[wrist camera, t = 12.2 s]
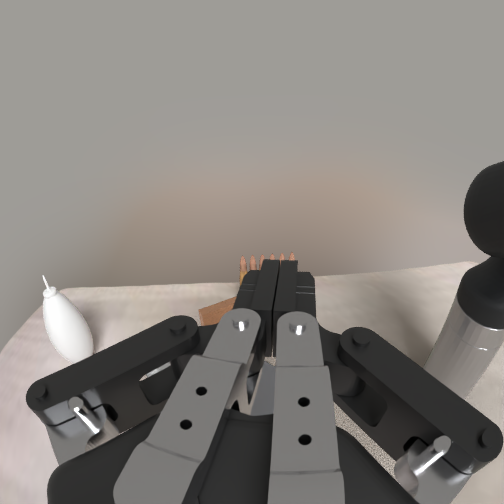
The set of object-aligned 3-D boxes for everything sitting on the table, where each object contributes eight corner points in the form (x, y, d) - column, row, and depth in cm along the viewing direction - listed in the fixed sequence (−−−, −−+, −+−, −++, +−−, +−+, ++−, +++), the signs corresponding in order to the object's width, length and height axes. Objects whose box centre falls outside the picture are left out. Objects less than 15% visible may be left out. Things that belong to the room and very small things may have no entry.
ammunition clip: (241, 312, 54) (237, 258, 48) (241, 307, 55) (237, 253, 50) (295, 308, 54) (298, 254, 49) (293, 302, 56) (296, 249, 51)
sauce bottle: (109, 359, 42) (70, 271, 34) (76, 381, 36) (27, 295, 28) (90, 339, 46) (56, 258, 38) (60, 358, 40) (19, 278, 32)
